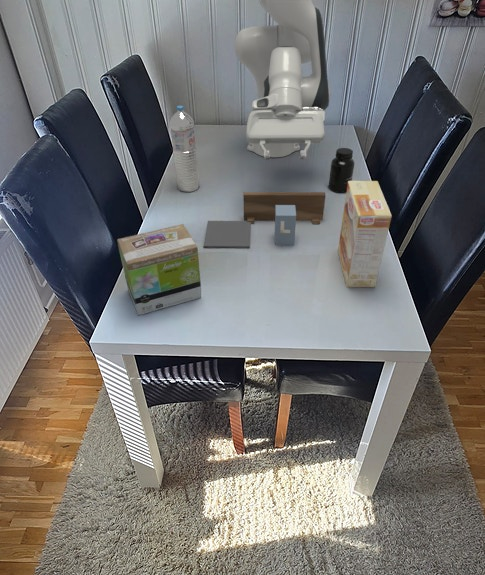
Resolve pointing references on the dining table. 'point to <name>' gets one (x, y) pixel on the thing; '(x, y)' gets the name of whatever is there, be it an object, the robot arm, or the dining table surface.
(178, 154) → the water bottle
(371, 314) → the dining table surface
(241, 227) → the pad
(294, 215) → the letter block
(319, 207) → the screen
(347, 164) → the supplement bottle
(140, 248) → the tea box
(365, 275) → the coffeecake box
